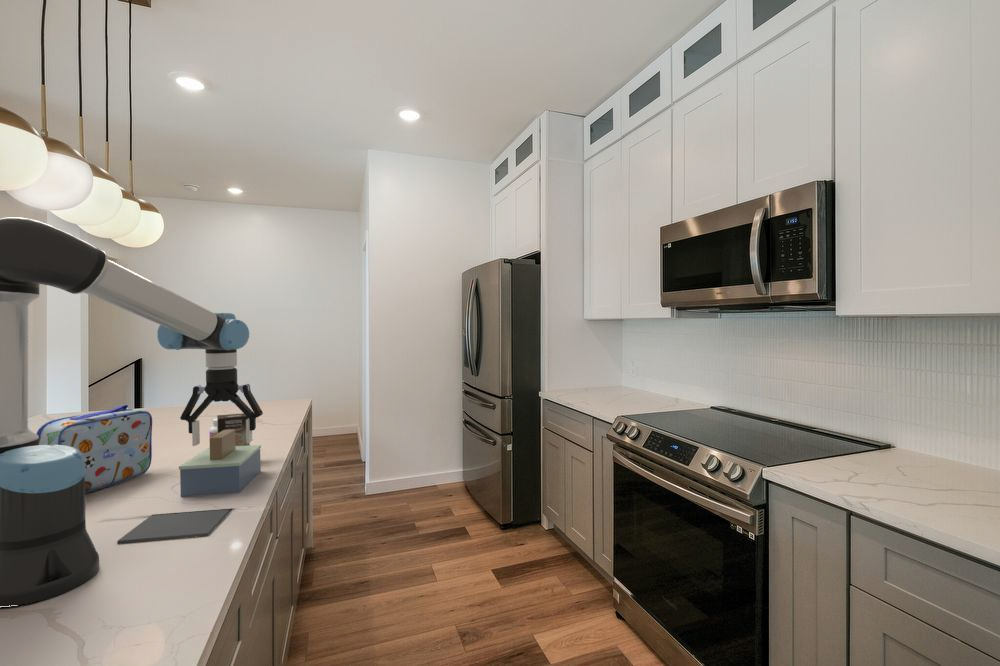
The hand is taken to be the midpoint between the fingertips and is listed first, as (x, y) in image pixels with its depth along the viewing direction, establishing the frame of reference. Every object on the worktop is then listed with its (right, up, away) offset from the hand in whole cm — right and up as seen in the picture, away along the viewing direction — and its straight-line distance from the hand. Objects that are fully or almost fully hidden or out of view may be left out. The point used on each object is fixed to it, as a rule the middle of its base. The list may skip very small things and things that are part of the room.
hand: (223, 443), depth 130 cm
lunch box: (-35, -12, +1) cm, 37 cm away
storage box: (0, -12, 0) cm, 12 cm away
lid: (0, -5, 0) cm, 5 cm away
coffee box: (-9, -12, +20) cm, 25 cm away
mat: (+4, -13, -21) cm, 25 cm away
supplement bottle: (-19, -12, +30) cm, 37 cm away
